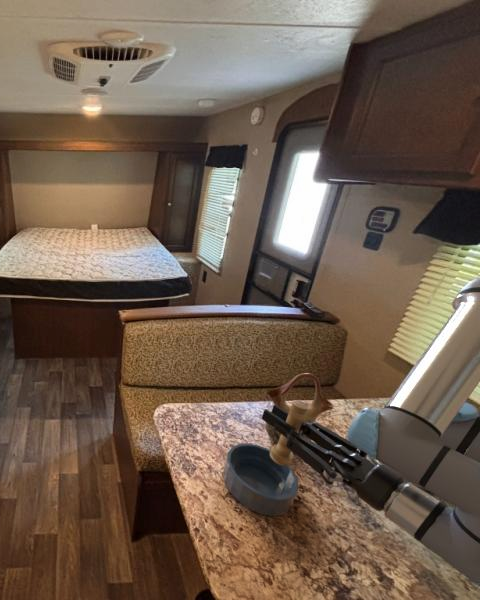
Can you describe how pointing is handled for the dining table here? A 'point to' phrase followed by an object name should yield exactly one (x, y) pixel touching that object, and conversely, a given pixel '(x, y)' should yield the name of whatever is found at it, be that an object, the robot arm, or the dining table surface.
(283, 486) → the bowl
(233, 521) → the dining table surface
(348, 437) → the robot arm
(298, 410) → the wooden pestle
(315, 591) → the dining table surface
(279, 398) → the ceramic vessel
